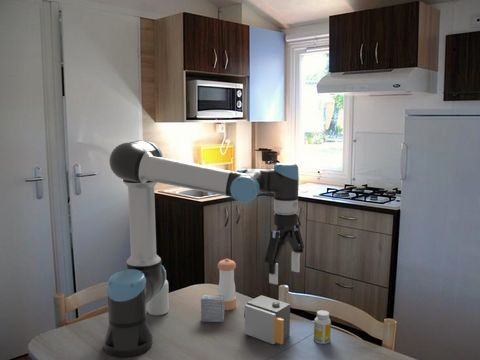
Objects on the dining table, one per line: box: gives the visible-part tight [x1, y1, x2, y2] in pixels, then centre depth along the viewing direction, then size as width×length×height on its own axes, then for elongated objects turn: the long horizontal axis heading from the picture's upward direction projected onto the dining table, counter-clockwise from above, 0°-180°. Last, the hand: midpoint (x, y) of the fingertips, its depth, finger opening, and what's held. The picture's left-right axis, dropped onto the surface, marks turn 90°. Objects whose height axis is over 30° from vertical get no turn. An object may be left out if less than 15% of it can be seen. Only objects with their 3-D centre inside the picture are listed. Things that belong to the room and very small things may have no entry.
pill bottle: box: [146, 279, 170, 316], centre depth 176 cm, size 8×8×15 cm
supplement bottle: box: [313, 309, 332, 345], centre depth 155 cm, size 5×5×10 cm
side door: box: [244, 303, 285, 345], centre depth 154 cm, size 15×1×10 cm, turn 52°
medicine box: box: [200, 294, 225, 323], centre depth 170 cm, size 8×4×9 cm, turn 84°
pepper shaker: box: [217, 257, 237, 311], centre depth 181 cm, size 7×7×19 cm
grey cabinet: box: [243, 295, 291, 345], centre depth 160 cm, size 14×8×12 cm, turn 52°
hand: (284, 277), depth 151 cm, fingers open, 13 cm apart
